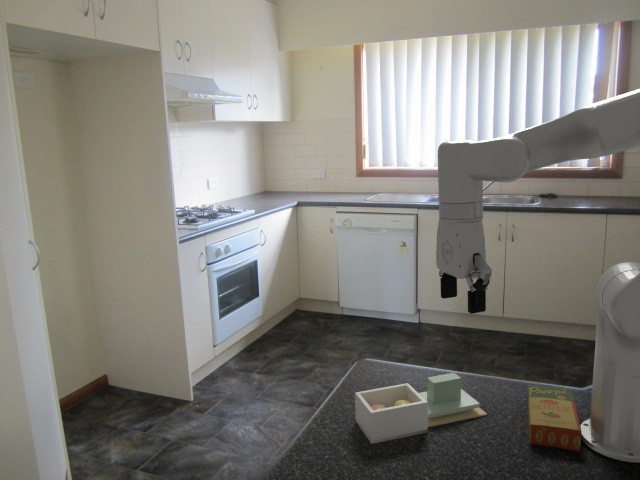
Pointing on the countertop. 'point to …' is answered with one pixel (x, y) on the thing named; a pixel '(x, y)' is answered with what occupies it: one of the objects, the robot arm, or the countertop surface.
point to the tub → (391, 413)
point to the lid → (447, 396)
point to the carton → (553, 417)
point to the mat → (456, 417)
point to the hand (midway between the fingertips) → (462, 304)
